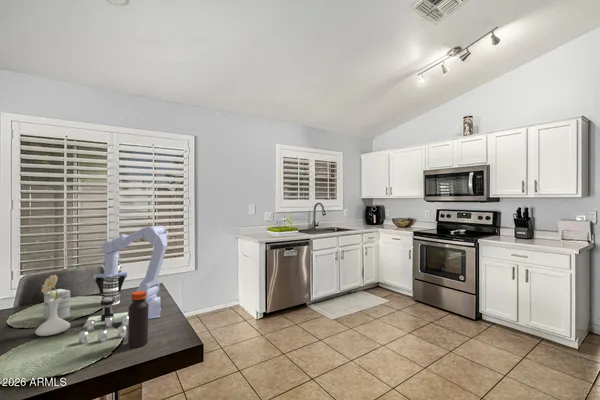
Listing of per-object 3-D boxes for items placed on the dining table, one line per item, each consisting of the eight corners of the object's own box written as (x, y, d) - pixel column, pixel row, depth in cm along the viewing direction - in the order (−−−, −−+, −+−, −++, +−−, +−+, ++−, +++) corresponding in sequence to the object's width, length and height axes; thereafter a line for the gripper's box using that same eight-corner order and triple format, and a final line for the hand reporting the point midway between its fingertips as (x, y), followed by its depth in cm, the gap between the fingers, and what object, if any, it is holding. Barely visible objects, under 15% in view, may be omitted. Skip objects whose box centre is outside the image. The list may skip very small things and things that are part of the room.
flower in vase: (35, 331, 125) (37, 272, 125) (69, 324, 132) (71, 269, 132) (34, 342, 115) (35, 278, 115) (71, 334, 122) (72, 274, 123)
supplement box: (42, 319, 138) (43, 292, 138) (60, 314, 145) (61, 288, 145) (52, 322, 135) (53, 294, 135) (70, 316, 142) (70, 290, 142)
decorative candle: (104, 301, 164) (105, 256, 164) (122, 299, 167) (123, 255, 167) (98, 306, 155) (99, 259, 156) (118, 305, 158) (119, 258, 158)
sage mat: (128, 312, 147) (128, 312, 147) (125, 321, 136) (125, 320, 136) (89, 317, 140) (89, 316, 140) (83, 327, 129) (83, 326, 129)
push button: (97, 323, 132) (97, 301, 132) (96, 320, 137) (96, 298, 137) (114, 320, 136) (115, 298, 137) (113, 316, 141) (113, 295, 141)
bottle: (143, 338, 119) (144, 289, 120) (150, 343, 115) (151, 292, 115) (125, 344, 114) (126, 292, 115) (132, 350, 110) (133, 296, 110)
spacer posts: (129, 322, 135) (130, 313, 135) (125, 338, 119) (125, 328, 119) (87, 328, 128) (87, 319, 129) (76, 346, 112) (77, 336, 112)
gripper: (91, 267, 141) (90, 295, 140) (126, 265, 146) (125, 293, 145) (96, 264, 147) (95, 291, 147) (129, 262, 152) (128, 289, 152)
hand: (110, 292), depth 147 cm, fingers open, 7 cm apart
